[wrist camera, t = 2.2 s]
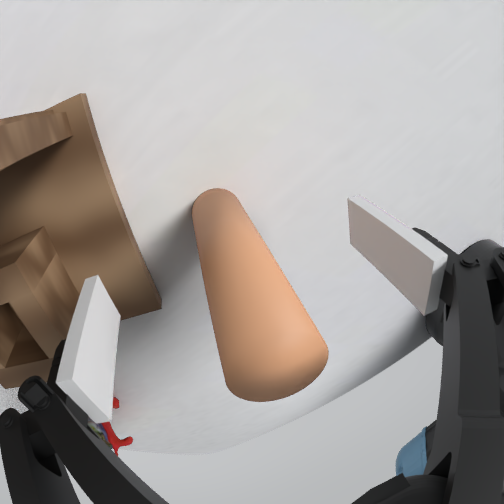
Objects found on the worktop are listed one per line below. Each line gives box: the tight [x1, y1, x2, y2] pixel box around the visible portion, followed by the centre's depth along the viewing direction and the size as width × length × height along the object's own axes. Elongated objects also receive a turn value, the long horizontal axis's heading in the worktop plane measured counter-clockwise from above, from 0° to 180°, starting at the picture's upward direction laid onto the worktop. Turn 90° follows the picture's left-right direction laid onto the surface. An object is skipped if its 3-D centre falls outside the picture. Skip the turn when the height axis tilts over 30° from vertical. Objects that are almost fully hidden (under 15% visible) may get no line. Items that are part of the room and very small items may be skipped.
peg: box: [192, 188, 328, 402], centre depth 15 cm, size 3×3×14 cm
